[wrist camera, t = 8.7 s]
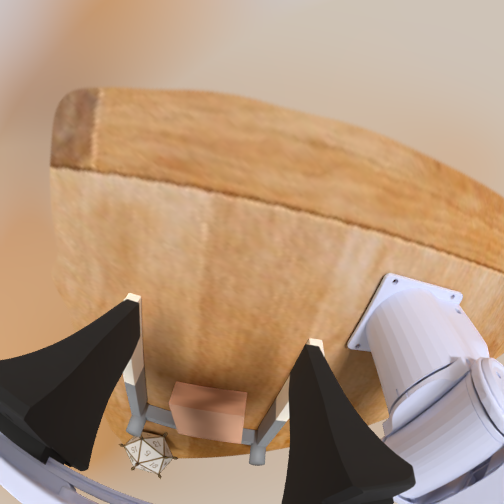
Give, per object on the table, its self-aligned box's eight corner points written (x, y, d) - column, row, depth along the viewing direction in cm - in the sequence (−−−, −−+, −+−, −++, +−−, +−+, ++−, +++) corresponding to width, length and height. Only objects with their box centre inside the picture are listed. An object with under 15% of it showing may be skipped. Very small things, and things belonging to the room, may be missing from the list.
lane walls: (322, 340, 23) (325, 365, 20) (286, 399, 27) (286, 421, 25) (129, 292, 22) (114, 313, 20) (134, 362, 27) (124, 381, 24)
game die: (171, 419, 39) (195, 469, 33) (138, 434, 39) (159, 481, 33) (137, 415, 32) (163, 475, 26) (103, 431, 32) (124, 486, 26)
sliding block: (247, 389, 28) (244, 415, 24) (243, 421, 31) (241, 443, 28) (176, 379, 28) (168, 403, 25) (184, 412, 31) (178, 433, 28)
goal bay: (290, 399, 27) (290, 437, 23) (264, 436, 32) (262, 466, 28) (131, 361, 27) (114, 394, 22) (138, 405, 32) (127, 433, 27)
